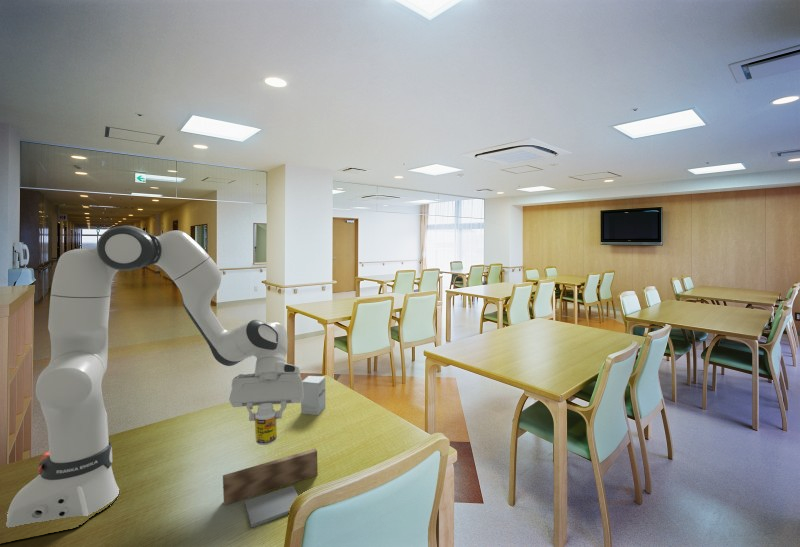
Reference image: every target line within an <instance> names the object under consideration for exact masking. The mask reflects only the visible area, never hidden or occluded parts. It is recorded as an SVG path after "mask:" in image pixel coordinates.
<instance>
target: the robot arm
mask: <svg viewBox="0 0 800 547" xmlns="http://www.w3.org/2000/svg"><path fill="white" fill-rule="evenodd" d="M152 265H155V266H158V267H159V268H161V269H162V270H163V271H164V272H165V273H166V274H167V275H168V276H169V278H170V279H171V280H172V281H173V282H174V283H175V285H176V286H177V288H178V290H179V291H180V294H181V296H182V298H181V302H182V306H183V308H184V310H185V312H186V313H187V315H188V316H189V318H190V319H191V321H192V322H193V324H194V325H195V327H196V328H197V329H198V331H199V333H200V334H201V336H202V337H203V339H204V340H205V341H206V343H207V345H208V346H209V349H210V351H211V354H212V355H213V358H214V359H215V360H216V361H217V362H218V363H220V364H221V365H222V366H225V367H226V366H227V367H231V366H233V367H234V366H235V365H237V364H238V363H240V362H242V361H244V360H246V359H248V358H250V357H255V358H256V362H255V366H254V367H255V368H254V373H247V374H244V373H243V374H242V373H241V374H240V373H239V374H238V375H237V376H234V377H233V379H231V380H232V381H231V391H230V394H229V398H228V399H229V403H230V405H231V406H232V407H233V408H239V407H240V408H241V407H243V408H244V407H246V410H247V411H248V414H249V416H248V420H249V422H255V414H256V412H252V410H253V409H254V406H255V407H256V406H257V407H258V406H259V405H260V404H263V403H272V404H273V405H280V406H281V407H280V409H279V410H275V411H276V420H282V418H283V416H282V415H283V413H284V411H285V410H286V408H287V404H299V403H300V404H301V402H302V401H303V399H304V392H303V383H302V381H303V379H302V376H301V370H300V367H299V366H297V365H294V364H290V363H287V359H286V355H287V353H288V346H289V345H288V344H289V343H288V342H289V341H288V333H287V329H286V327H285V326H284V325H283V324H281V323H279V322H274V321H269V322H264V321H262V320H260V319H252V320H250V321H248V322H246V323H243V324H241V325H239V326H238V327H237V326H236V327H235V328H234V329H231V330H227V329H225V328H224V327H223V325H222V324H221V322H220V321H219V319H218V318H217V316H216V315H215V312H214V311H213V310H212V306H211V301H212V299H213V297H214V296H215V295H216V293H217V292H218V290H219V289H220V287H221V283H222V273H221V271H220V270H221V269H220V268H219V266H218V265H217V263H216V262H215V261H214V259H213V258H212V257H211V256H210V255H209V253H207V251H206V250H205V249H204V248H203V247H202V245H200V244H199V243H198V242H197V241H196V240H195V239H193V238H192V237H191V236H190V235H189V234H188V233H186V232H185V231H182V230H178V229H177V230H169V231H166V232H164V233H162V234H160V235H158V236H157V235H153V234H151V233H148V232H146V231H145V230H143V229H142V228H140V227H137V226H133V225H118V226H113V227H112V228H109V229H107V230H106V231H104V232H103V233H102V234H101V235H100V237H99V238H98V240H97V243H96V247H94V248H74V249H71V250H67V251H66V252H64V253H62V254H61V255H60V256H59V258H58V260H57V263H56V267H55V270H54V274H53V276H52V282H51V288H50V299H49V311H48V325H47V328H48V329H47V330H48V332H49V338H50V352H51V353H50V354H51V357H50V361H49V363H48V365H47V366H46V367H45V368H44V369H43V370H42V371H41V373H40V374H39V375H38V378H37V381H36V384H35V396H36V399H37V401H38V402H39V404H40V408H41V411H42V415H43V417H44V421H45V424H46V429H47V430H46V431H47V437H48V438H47V439H48V451H46V452H44V453H43V454H42V457H41V458H40V461H39V463H38V468H37V474H38V475H37V476H36V477H35V478H33V479H32V480H31V481H29V482H28V483H27V484H25V486H23V487H22V488H20V490H19V491H18V492H17V493H16V494H15V496H14V497H13V499H12V500H11V503H10V504H9V506H8V511H7V513H8V514H7V522H6V526H7V527H8V528H9V527H15V526H19V525H24V524H30V523H35V522H42V521H43V522H44V521H49V520H55V519H60V518H66V517H75V516H88V515H90V514H92V513H93V512H96V511H98V510H99V509H101V508H103V507H104V506H106V505H107V504H109V503H110V502H112V501H113V500H114V499H115V498H116V497H117V496H118V494H119V490H120V488H119V486H118V484H117V481H116V479H115V476H114V472H113V467H112V464H113V447H112V443H111V441H110V439H109V426H108V413H107V410H106V407H105V401H104V396H103V390H102V384H103V382H102V381H103V378H104V375H105V373H106V371H107V368H108V361H109V360H108V356H109V319H110V306H111V294H112V284H113V278H114V276H115V275H116V274H117V272H119V271H122V272H123V271H124V272H126V271H127V272H128V271H134V270H140V269H141V268H145V267H148V266H149V267H150V266H152Z"/></svg>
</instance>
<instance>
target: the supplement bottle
mask: <svg viewBox="0 0 800 547" xmlns="http://www.w3.org/2000/svg"><path fill="white" fill-rule="evenodd" d="M276 411H277V410H275V409H274V404H272V403H263V404H260V405H258V406H257V411H256V412H255V421H254V425H255V426H254V428H255V442H256V444H257V445H260V446H267V445H270V444H273V443H274V442H276V440H277V438H278V437H277V431H278V430H277V419H276Z"/></svg>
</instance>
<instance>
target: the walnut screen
mask: <svg viewBox="0 0 800 547" xmlns="http://www.w3.org/2000/svg"><path fill="white" fill-rule="evenodd" d="M318 468H319V467H318V450H317V449H316V448H312V449H308V450H306V451H302V452H299V453H296V454H292V455H289V456H285V457H282V458H278V459H275V460H271V461H267V462H264V463H261V464H257V465H254V466H250V467H247V468H244V469H243V468H242V469H240V470H236V471H233V472H230V473H227V474H223V475H222V490H223V505H224V506H227V505H229V504H232V503H235V502H239V501H241V500H244V499H247V498H251V497H254V496H256V495H260V494H263V493H266V492H268V491H273V490H275V489H278V488H281V487H284V486H287V485H291V484H294V483H297V482H299V481H302V480H305V479H309V478H312V477H314V476H318V472H319V471H318Z"/></svg>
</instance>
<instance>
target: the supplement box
mask: <svg viewBox="0 0 800 547" xmlns="http://www.w3.org/2000/svg"><path fill="white" fill-rule="evenodd" d="M302 383H303V392H304V399H303V401H302V402H301V403H300V412H301V414H303V415H314V416H319V415H320V414H321V412H322V411H323V410H324V409H325V408H326V406H327V405H326V402H327V401H326V399H327V397H326V376H318V375H316V376H315V375H308V376H306V377H305V378H304V379H302Z"/></svg>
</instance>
